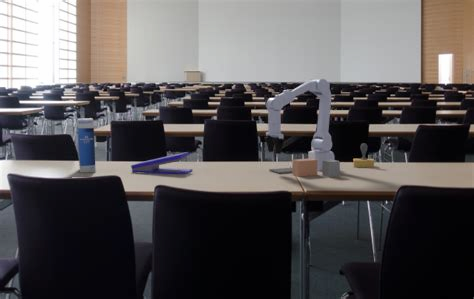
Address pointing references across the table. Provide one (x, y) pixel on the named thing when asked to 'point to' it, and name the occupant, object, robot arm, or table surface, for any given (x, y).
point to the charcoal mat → (281, 170)
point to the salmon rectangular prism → (304, 167)
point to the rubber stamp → (363, 159)
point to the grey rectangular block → (331, 168)
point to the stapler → (153, 165)
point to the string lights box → (86, 145)
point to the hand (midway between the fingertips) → (274, 152)
